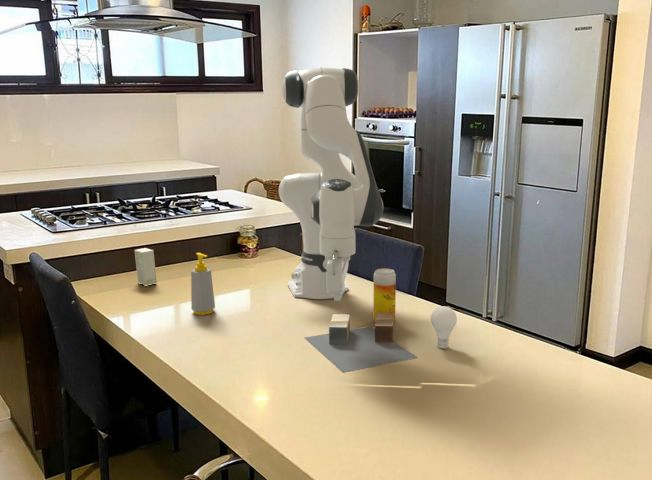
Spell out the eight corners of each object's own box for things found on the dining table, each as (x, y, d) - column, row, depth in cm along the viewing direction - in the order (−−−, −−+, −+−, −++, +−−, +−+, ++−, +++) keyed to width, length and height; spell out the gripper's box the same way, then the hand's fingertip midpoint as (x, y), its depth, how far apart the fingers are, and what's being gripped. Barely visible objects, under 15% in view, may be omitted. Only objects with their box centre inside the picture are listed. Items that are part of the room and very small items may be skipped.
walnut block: (392, 326, 160) (393, 313, 170) (374, 325, 160) (376, 312, 170) (392, 342, 161) (393, 329, 170) (374, 342, 161) (376, 328, 171)
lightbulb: (439, 342, 162) (440, 301, 160) (460, 348, 158) (462, 306, 155) (424, 348, 158) (425, 306, 155) (446, 355, 153) (447, 312, 151)
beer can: (394, 327, 173) (394, 274, 170) (372, 325, 174) (372, 273, 171) (396, 319, 179) (396, 268, 176) (374, 318, 180) (375, 267, 177)
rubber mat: (304, 339, 165) (303, 337, 165) (371, 327, 173) (371, 326, 173) (342, 374, 144) (342, 372, 144) (418, 359, 151) (418, 357, 151)
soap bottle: (199, 317, 183) (195, 257, 179) (187, 312, 188) (183, 253, 184) (219, 312, 187) (216, 253, 183) (207, 306, 192) (204, 249, 188)
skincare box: (157, 284, 216) (154, 250, 214) (145, 287, 213) (142, 252, 211) (148, 281, 221) (146, 247, 218) (136, 283, 218) (134, 249, 215)
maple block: (346, 327, 159) (349, 314, 169) (329, 327, 160) (332, 314, 169) (346, 344, 160) (349, 330, 170) (329, 344, 161) (333, 330, 170)
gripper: (347, 257, 145) (347, 314, 149) (353, 236, 165) (353, 286, 168) (319, 257, 146) (320, 313, 149) (329, 236, 166) (329, 286, 169)
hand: (337, 299), depth 159 cm, fingers closed
